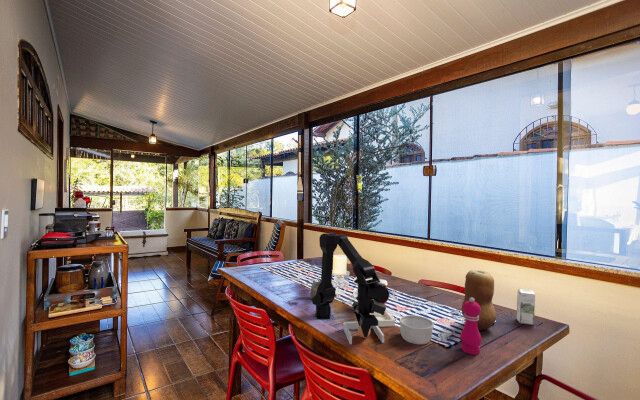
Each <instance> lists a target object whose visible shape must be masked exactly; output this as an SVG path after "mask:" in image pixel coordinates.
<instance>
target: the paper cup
mask: <svg viewBox="0 0 640 400" xmlns="http://www.w3.org/2000/svg"><path fill="white" fill-rule="evenodd" d="M379 280H380V282H379V283H380V284H385V285H386V288H387V289H388V281H387V280H386V279H382V278H379ZM380 303H381V302H380ZM386 303H387V302H385V303H382V304H383V305H384V306H385V307H386Z"/></svg>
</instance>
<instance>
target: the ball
mask: <svg viewBox="0 0 640 400" xmlns="http://www.w3.org/2000/svg"><path fill="white" fill-rule="evenodd" d="M357 333H358V335H359V336H360V337H361V338H365V337H364V335H363V332H362V329H361V326H359V327H358V329H357ZM370 334H371V329H370V330H369V333H368V336H367V337H366V338H368V337H369V336H370Z"/></svg>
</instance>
